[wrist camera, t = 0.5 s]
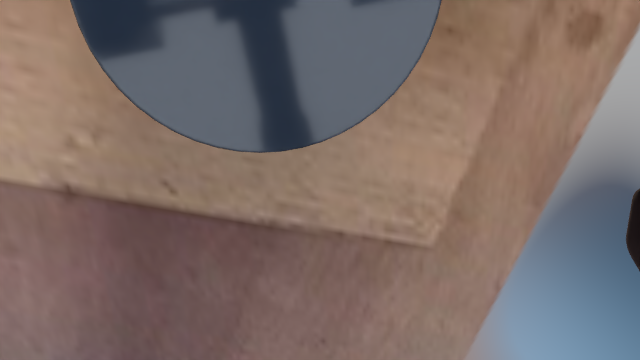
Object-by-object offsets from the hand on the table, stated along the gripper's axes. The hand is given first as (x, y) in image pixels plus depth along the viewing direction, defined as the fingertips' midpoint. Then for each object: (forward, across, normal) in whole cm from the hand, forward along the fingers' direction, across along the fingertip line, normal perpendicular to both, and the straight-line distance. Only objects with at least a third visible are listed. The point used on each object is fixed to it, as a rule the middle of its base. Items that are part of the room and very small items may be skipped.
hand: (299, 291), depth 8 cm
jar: (+14, 0, -1) cm, 15 cm away
